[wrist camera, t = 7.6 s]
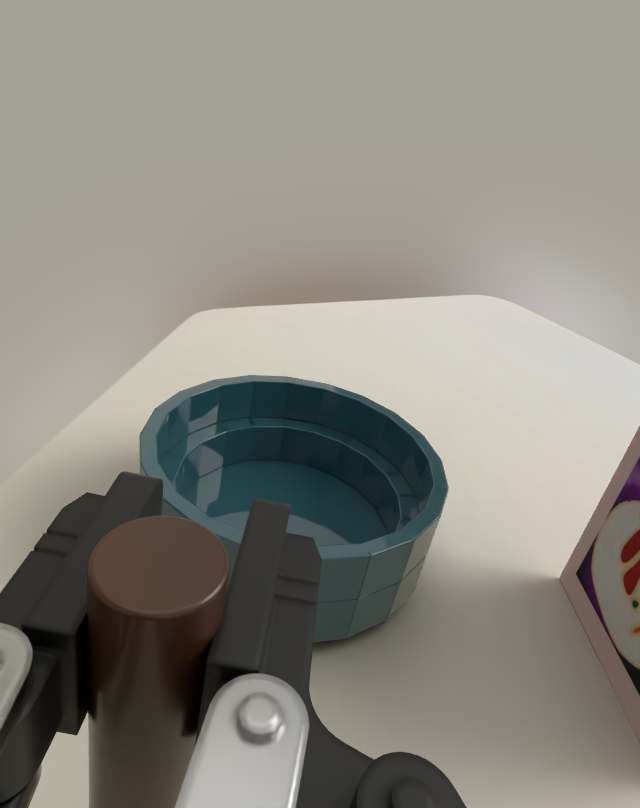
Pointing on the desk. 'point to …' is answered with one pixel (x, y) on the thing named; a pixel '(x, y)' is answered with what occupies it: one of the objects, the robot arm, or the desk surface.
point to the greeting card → (613, 582)
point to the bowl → (305, 483)
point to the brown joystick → (149, 655)
